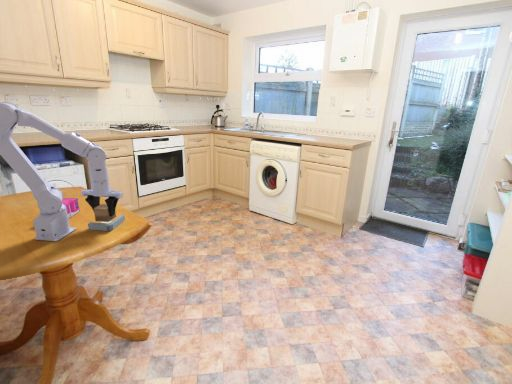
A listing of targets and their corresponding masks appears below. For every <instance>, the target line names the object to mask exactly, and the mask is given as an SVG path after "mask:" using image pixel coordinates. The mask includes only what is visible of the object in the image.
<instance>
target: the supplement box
mask: <svg viewBox="0 0 512 384" xmlns="http://www.w3.org/2000/svg"><path fill="white" fill-rule="evenodd" d="M62 204H63V205H65V206H66V210H67V215H68V220H69V219H70V218H72V217H73V216H75V215H76V214H78V213H79V212H80V211H81V210H80V206H79V198H72V197H71V198H70V197H69V198H68V197H63V199H62Z"/></svg>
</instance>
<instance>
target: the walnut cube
mask: <svg viewBox="0 0 512 384" xmlns="http://www.w3.org/2000/svg"><path fill="white" fill-rule="evenodd" d="M93 213H94V220H95V222H109V221H113V220H114V219H116V218H117V212H116V210H115V215H113V216H110V215H109V210H108V206H107V204H106V203H100V205H99V206H97V207H95V208H94V211H93Z"/></svg>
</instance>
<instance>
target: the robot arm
mask: <svg viewBox="0 0 512 384" xmlns="http://www.w3.org/2000/svg"><path fill="white" fill-rule="evenodd" d="M16 125H17V127H30V128H33V129H35V130H37V131H39V132H41V133H44V134H45V135H46V136H47V135H48V136H50V137H52V138H54V139H55V140H57V141H59V142H60V144H61V147H63V148H64V149H66V150H68V151H71V152H72V153H73V154H76V155H78V156H79V157H81V158H85V159H86V160H87V162H88V174H89V179H90V186H91V188H90V189H82V190H80V194H81V197H86V198H85V202H86V203H87V204H88V205H89V206H90V208H91V209H92V210H93V212H94V208H95V207H97V206H99V205H100V204H101V203H100V202H101V198H106V199H104V201H105V204H107V206H108V210H109V215H110V216H113V215H115V211H116V209H117V205H118V202H119V199H122V198H123V191H117V190H113V189H111V185H110V177H109V171H108V166H107V161H106V160H107V154H106V152H105V150H104V149H103V148H102V147H101V146H100V145H98V144H96V143H95V142H94V141H90V140H87V139H85V138H84V137H82V136H81V135H82V134H81V133H79V132H76V133H75V132H73V131H69V132H65V131H63V129H60V128H58V127H57V126H55V125H54V124H52V123H50V122H48V121H47V120H45V119H44V118H42V117H40V116H38V115H36V114H35V113H34V112H31V111H29V110H27V109H25V108H22V107H18V105H16V104H14V103H12V102H9V101H7V102H6V101H4V102H0V156H1V158H3V160H4V161H5V162H6V163H7V164H8V165H9V166H10V167H11V169H12V170H13V171H14V172H15V173H16V174H17V176H18V177H19V178H20V179H21V180H22V181H23V182H24V183H25V185H26V186H27V187H28V188H29V189H30V192H31V194H32V196H33V198H34V200H36V203H37V208H38V209H39V214H38V215H37V216H36V217H34V219H33V222H32V223H33V227H34V232H35V236H36V237H34V239H35V240H37V241H46V242H47V241H50V242H57V241H60V240H61V239H63V238H64V237H66V236H68V235H69V234H71V233H73V232H74V231H77V227H72V226H70V221H69V219H68V215H67V210H66V206H65V205H63V204H62V199H63V198H64V193H63V191H62V190H61V189H60V188H57V187H55V186H54V185H53V184H52V183H51V182H50V181H48V180H46V178H45V177H44V176H43V175H42V173H41V172H40V171H39V170H38V169H37V167H36V166H35V165H34V164H33V162H32V161H31V160H30V159H29V158H28V156H27V155H26V154H25V153H24V151H23V150H22V149H21V148H20V147H19V145H18V144H17V143H16V142H15V141H14V140H13V138H12V136H13V132H14V130H15V126H16Z"/></svg>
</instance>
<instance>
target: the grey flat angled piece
mask: <svg viewBox="0 0 512 384" xmlns="http://www.w3.org/2000/svg"><path fill="white" fill-rule="evenodd" d="M124 220H125V221H126V216H125V215H124V214H119V216H116V217H115V218H114V219H112V220H111V221H109V222H102V221H100V222H96V221H95V222H93V221H90V222H89V223H87V228H88V230H92V231H105V232H112V231H113V230H114V229H116V228H117V227H119V225H121V224H123V223H124V222H125V221H124ZM123 221H124V222H123Z"/></svg>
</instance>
